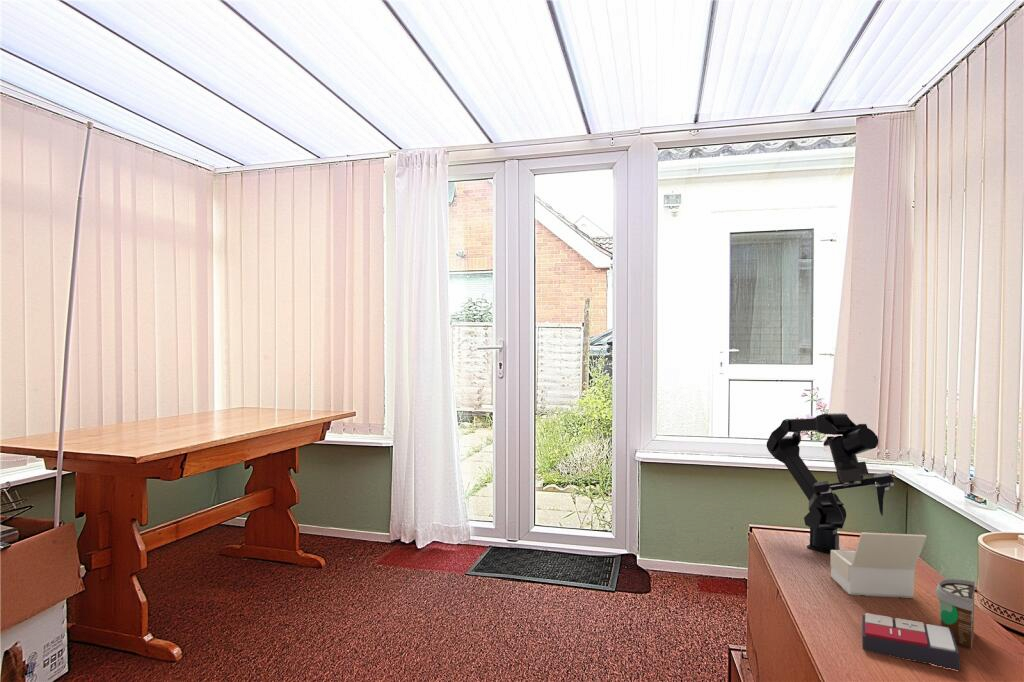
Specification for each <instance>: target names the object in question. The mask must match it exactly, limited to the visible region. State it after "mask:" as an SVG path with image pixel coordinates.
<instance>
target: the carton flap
mask: <svg viewBox="0 0 1024 682" xmlns="http://www.w3.org/2000/svg"><path fill="white" fill-rule="evenodd" d="M926 540H927V535H926V534H911V533H910V534H908V533H889V532H888V533H886V532H882V533H881V532H863V531H862V532H860V535H859V538H858V542H857V544H856V549H855V550H854V551H855V554H854V557H853V561H852V564H851V565H852V567H873V568H894V569H915V570H916V566H917V563H918V560H919V558H920V556H921V552H922V550H923V547H924V544H925V543H926Z"/></svg>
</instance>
